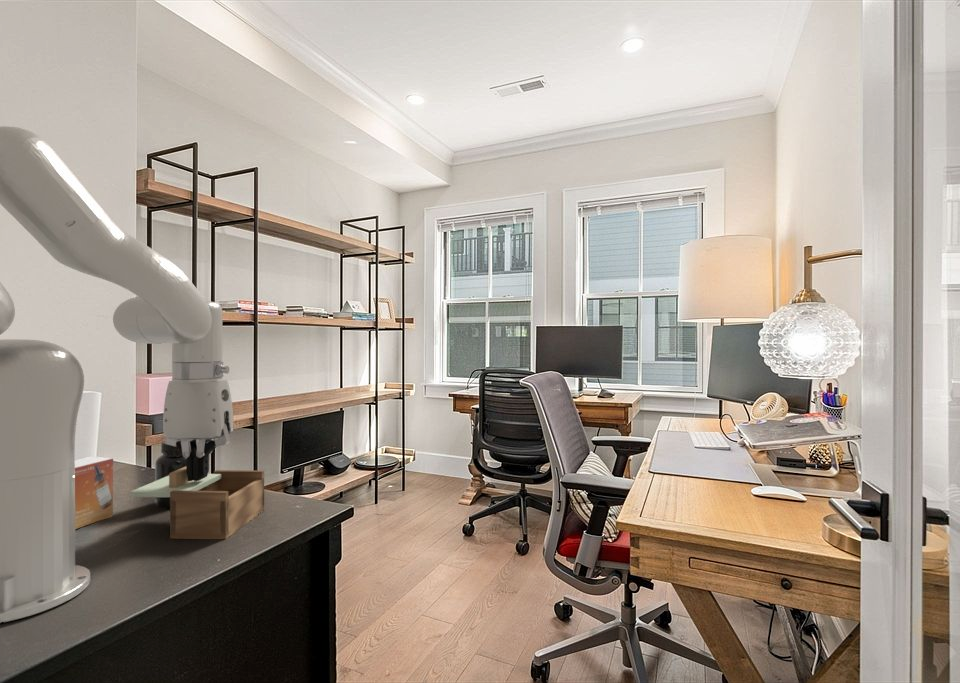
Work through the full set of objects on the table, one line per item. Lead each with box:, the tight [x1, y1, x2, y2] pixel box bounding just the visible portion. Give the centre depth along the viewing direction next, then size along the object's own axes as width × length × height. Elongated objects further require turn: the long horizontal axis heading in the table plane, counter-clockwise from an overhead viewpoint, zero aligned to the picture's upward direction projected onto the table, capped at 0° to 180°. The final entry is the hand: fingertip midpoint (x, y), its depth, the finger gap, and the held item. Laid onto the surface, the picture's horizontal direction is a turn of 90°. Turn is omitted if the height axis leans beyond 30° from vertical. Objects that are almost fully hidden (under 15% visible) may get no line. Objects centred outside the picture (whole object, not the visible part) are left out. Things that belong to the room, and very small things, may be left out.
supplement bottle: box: [154, 440, 186, 509], centre depth 94 cm, size 7×7×12 cm
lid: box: [129, 467, 222, 498], centre depth 84 cm, size 11×9×3 cm
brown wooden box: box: [169, 469, 265, 540], centre depth 84 cm, size 13×9×7 cm
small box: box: [75, 456, 114, 530], centre depth 84 cm, size 8×6×10 cm
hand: (197, 478), depth 84 cm, fingers closed
